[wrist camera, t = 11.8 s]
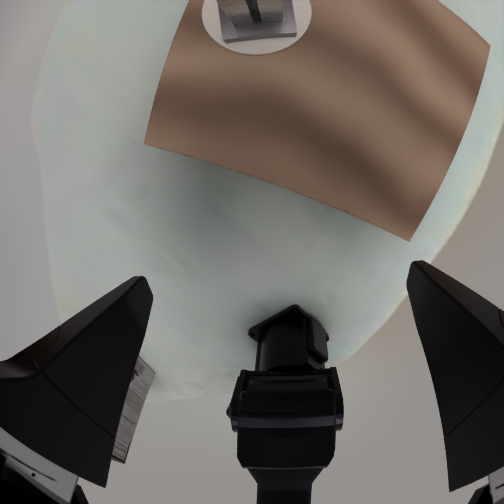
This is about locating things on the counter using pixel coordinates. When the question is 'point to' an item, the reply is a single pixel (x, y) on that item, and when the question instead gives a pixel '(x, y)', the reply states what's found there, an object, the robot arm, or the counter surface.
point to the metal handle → (256, 19)
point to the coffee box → (132, 409)
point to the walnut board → (331, 105)
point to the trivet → (261, 45)
